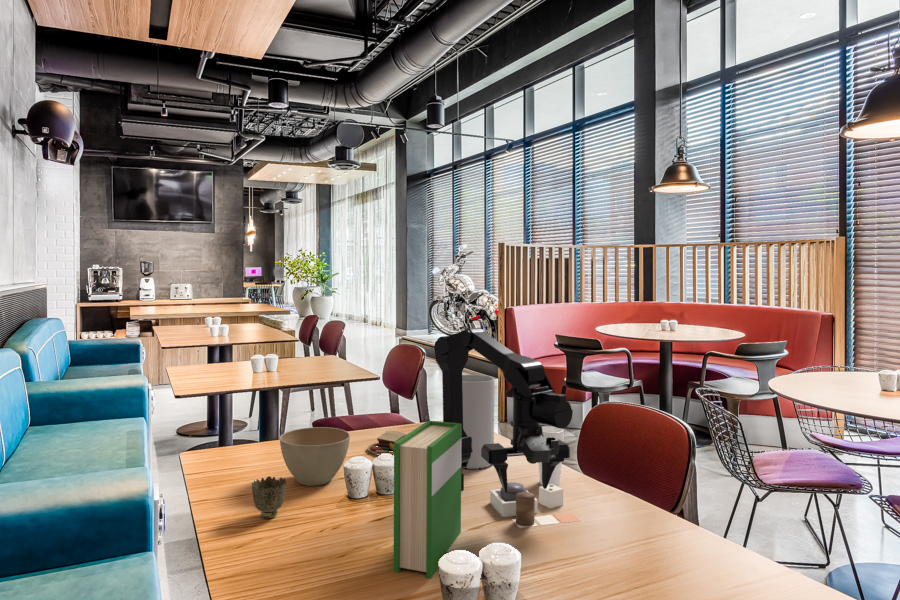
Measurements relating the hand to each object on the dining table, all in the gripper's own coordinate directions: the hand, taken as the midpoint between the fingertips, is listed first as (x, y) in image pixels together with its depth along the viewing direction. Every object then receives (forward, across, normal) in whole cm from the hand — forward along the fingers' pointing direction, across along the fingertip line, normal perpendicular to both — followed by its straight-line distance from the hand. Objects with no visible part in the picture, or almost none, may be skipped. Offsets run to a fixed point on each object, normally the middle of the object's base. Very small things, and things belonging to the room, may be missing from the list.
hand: (525, 490), depth 126 cm
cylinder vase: (+8, +2, +44) cm, 45 cm away
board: (+8, +5, +4) cm, 10 cm away
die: (+7, +10, +8) cm, 15 cm away
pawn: (+7, 0, 0) cm, 7 cm away
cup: (+8, -54, +19) cm, 58 cm away
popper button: (+7, 0, +8) cm, 11 cm away
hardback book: (+8, -23, -7) cm, 25 cm away
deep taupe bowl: (+8, -43, +40) cm, 60 cm away
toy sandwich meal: (+9, -20, +63) cm, 67 cm away
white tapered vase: (+8, +16, +21) cm, 28 cm away
